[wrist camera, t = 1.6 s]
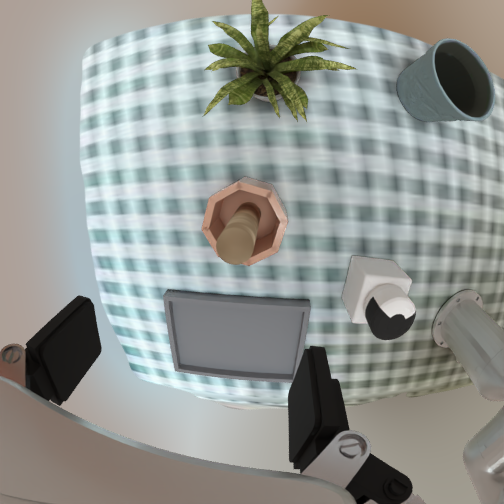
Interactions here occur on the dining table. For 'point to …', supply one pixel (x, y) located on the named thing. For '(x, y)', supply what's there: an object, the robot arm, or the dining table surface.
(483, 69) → the blue-grey plant pot
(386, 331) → the medicine bottle
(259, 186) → the cup
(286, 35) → the house plant
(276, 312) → the tray
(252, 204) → the dowel
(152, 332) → the dining table surface
